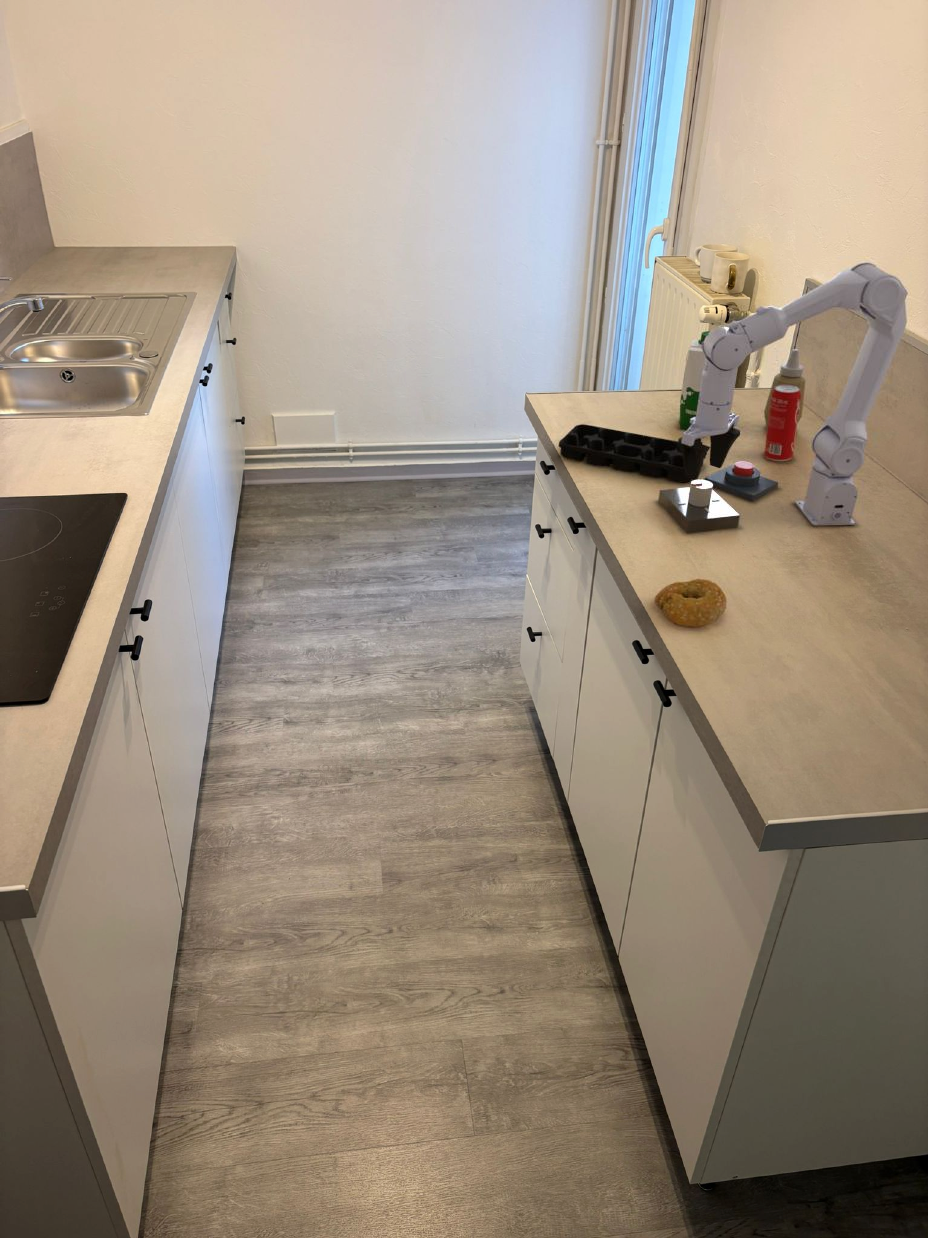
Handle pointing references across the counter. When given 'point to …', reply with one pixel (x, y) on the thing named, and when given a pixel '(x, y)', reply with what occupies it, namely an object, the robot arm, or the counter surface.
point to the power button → (743, 468)
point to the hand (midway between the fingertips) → (703, 472)
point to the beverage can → (782, 422)
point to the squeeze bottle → (788, 381)
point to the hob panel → (698, 511)
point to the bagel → (692, 602)
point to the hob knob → (700, 493)
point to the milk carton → (692, 382)
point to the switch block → (742, 483)
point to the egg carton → (625, 451)
